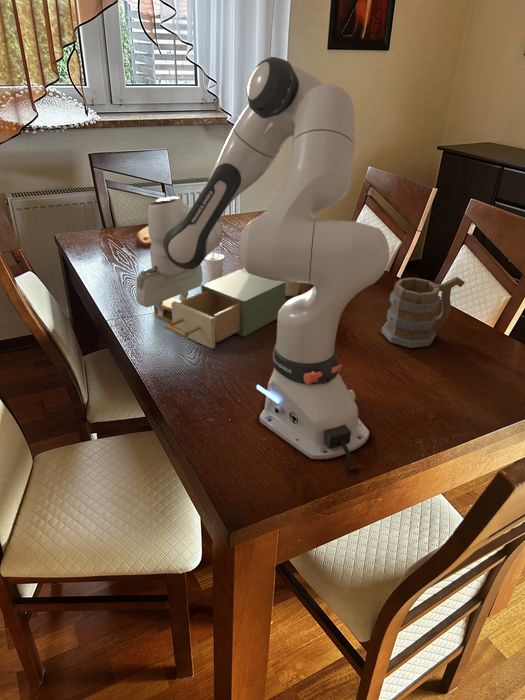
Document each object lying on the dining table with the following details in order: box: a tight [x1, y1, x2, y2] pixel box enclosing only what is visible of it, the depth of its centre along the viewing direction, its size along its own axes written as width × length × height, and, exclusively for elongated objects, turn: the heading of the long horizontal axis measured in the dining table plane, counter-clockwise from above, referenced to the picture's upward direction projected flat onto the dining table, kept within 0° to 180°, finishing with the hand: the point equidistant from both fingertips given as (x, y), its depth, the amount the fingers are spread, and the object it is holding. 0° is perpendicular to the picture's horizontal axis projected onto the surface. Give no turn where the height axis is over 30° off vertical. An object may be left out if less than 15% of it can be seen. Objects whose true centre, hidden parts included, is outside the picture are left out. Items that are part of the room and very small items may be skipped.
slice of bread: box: [135, 225, 151, 248], centre depth 197 cm, size 18×18×4 cm
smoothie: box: [203, 249, 226, 283], centre depth 156 cm, size 6×6×14 cm
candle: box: [284, 281, 300, 297], centre depth 155 cm, size 6×6×10 cm
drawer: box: [163, 290, 242, 349], centre depth 130 cm, size 21×14×8 cm, turn 141°
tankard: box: [380, 276, 466, 349], centre depth 133 cm, size 20×13×15 cm, turn 105°
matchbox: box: [153, 297, 182, 323], centre depth 140 cm, size 8×6×4 cm, turn 51°
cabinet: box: [201, 267, 286, 337], centre depth 140 cm, size 17×15×10 cm
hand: (172, 310), depth 141 cm, fingers closed on matchbox, 5 cm apart
